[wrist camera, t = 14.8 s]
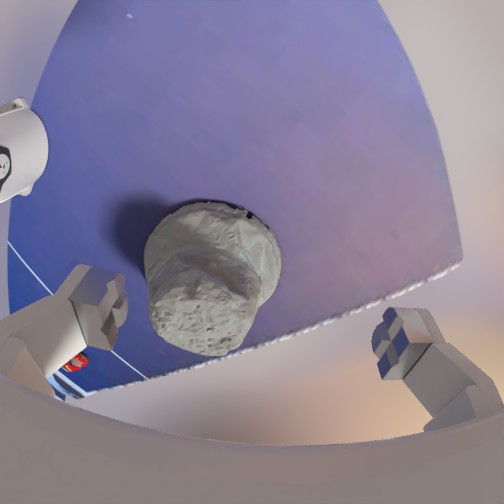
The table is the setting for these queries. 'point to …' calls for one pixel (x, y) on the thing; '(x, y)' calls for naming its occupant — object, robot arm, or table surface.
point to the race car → (76, 362)
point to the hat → (209, 276)
